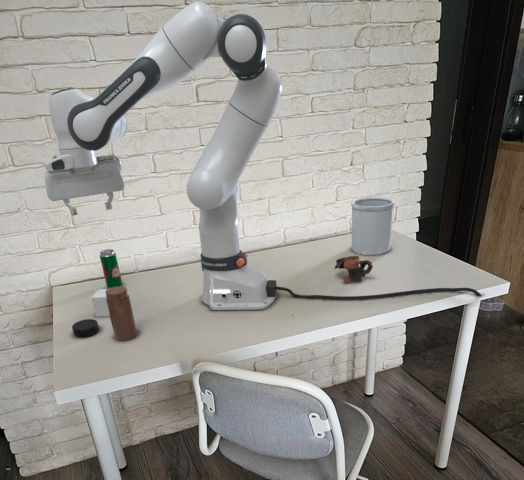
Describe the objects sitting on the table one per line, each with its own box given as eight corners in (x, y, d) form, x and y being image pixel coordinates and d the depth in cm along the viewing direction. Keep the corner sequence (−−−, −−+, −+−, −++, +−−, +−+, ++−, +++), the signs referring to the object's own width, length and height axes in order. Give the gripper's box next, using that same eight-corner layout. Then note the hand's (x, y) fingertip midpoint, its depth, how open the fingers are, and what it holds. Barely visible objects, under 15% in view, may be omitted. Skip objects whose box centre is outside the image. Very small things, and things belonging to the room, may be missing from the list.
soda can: (118, 289, 155) (110, 254, 149) (104, 289, 156) (95, 253, 150) (125, 283, 159) (117, 248, 153) (111, 283, 160) (103, 248, 154)
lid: (69, 332, 130) (67, 325, 129) (92, 324, 134) (90, 316, 133) (80, 340, 126) (78, 332, 125) (103, 331, 129) (101, 323, 128)
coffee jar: (141, 331, 128) (131, 286, 122) (130, 341, 123) (120, 295, 117) (121, 329, 130) (111, 285, 123) (110, 340, 125) (99, 294, 118)
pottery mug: (334, 285, 150) (330, 259, 150) (340, 287, 158) (337, 263, 158) (373, 277, 145) (368, 250, 145) (377, 280, 154) (373, 255, 154)
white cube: (102, 308, 143) (98, 289, 140) (122, 307, 143) (118, 288, 140) (95, 316, 138) (91, 297, 135) (116, 315, 138) (111, 296, 135)
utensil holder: (367, 258, 167) (370, 208, 159) (341, 248, 179) (343, 200, 170) (399, 250, 173) (404, 201, 164) (372, 240, 185) (375, 194, 176)
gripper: (116, 152, 132) (126, 203, 139) (37, 162, 124) (52, 216, 131) (121, 155, 127) (131, 207, 134) (40, 165, 119) (55, 220, 126)
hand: (92, 212), depth 132 cm, fingers open, 8 cm apart
